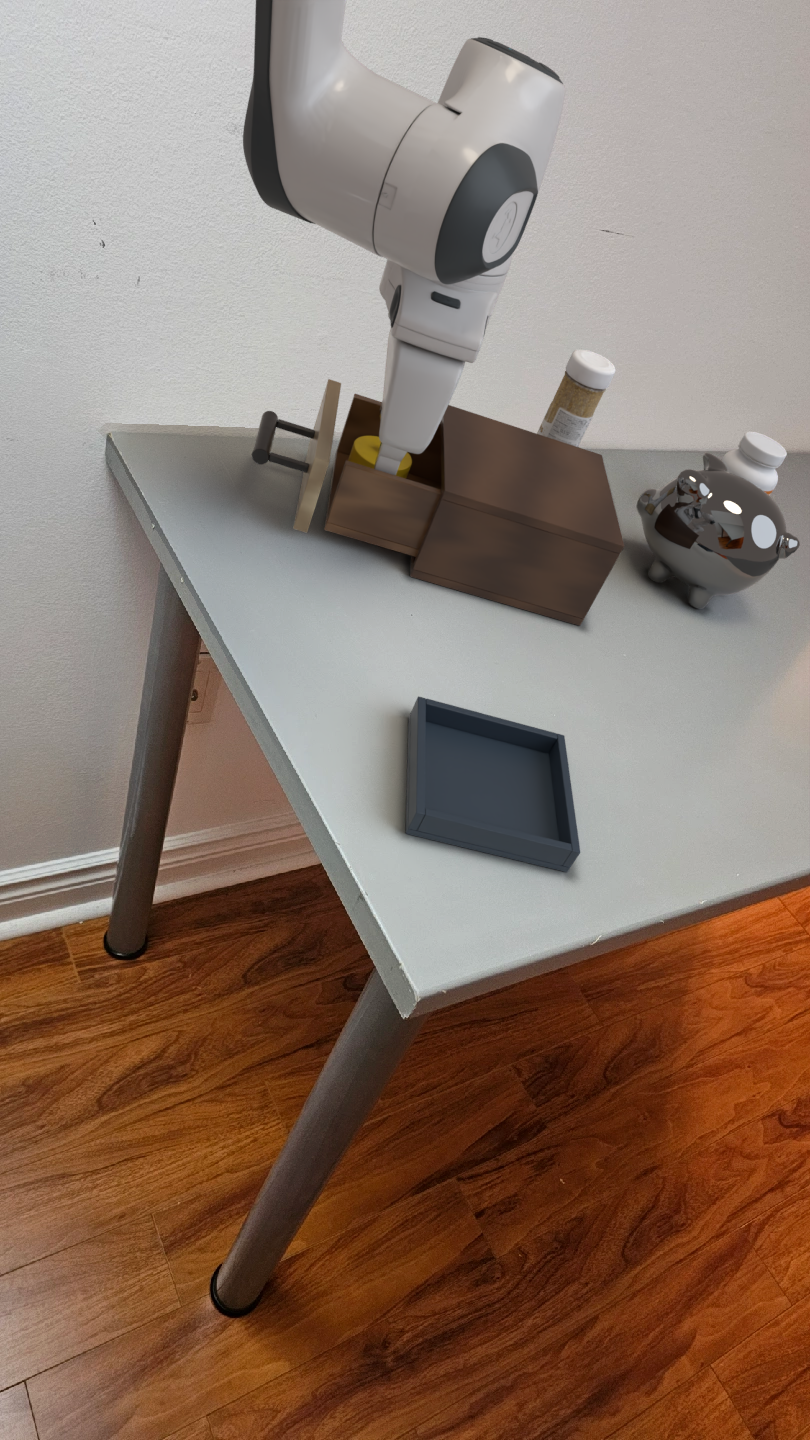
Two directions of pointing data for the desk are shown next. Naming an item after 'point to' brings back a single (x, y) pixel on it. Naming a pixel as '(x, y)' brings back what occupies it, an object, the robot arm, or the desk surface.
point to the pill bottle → (756, 460)
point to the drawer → (358, 477)
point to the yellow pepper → (375, 454)
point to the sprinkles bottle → (577, 397)
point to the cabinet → (519, 519)
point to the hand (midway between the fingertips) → (385, 444)
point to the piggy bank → (713, 531)
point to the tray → (490, 785)
